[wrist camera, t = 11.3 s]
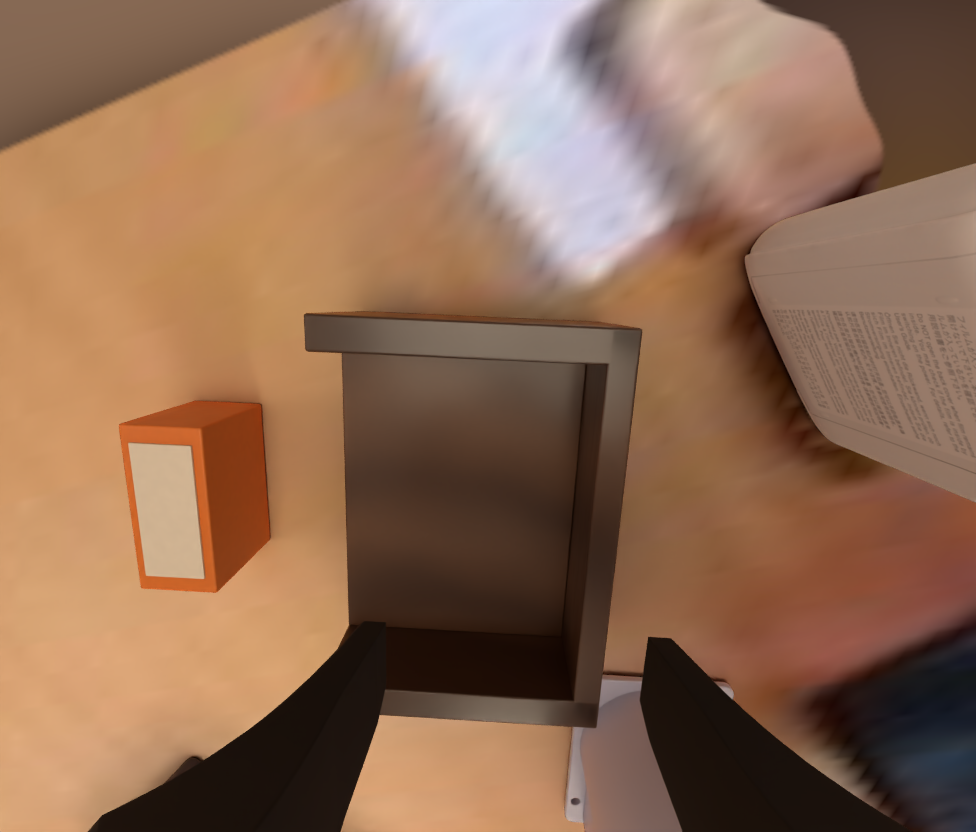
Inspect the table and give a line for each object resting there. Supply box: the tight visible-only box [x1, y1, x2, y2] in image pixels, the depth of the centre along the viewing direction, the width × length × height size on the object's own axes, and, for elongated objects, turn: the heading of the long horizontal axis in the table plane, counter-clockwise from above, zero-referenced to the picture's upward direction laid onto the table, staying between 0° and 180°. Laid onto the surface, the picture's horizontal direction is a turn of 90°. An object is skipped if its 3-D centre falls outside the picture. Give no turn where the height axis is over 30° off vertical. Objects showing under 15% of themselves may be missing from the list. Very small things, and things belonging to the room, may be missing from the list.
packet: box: [119, 401, 270, 593], centre depth 21 cm, size 7×3×5 cm, turn 178°
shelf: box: [304, 311, 642, 728], centre depth 20 cm, size 15×11×6 cm
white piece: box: [745, 163, 976, 503], centre depth 15 cm, size 10×4×12 cm, turn 31°
